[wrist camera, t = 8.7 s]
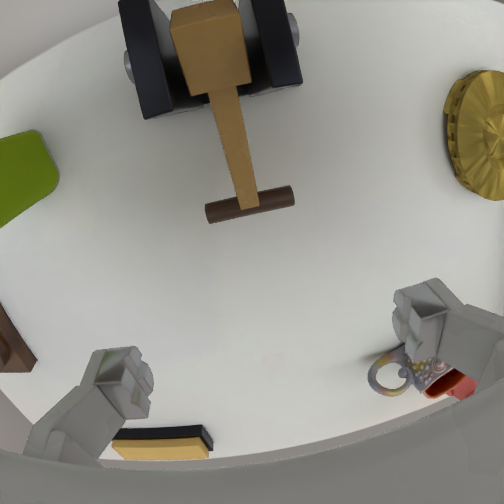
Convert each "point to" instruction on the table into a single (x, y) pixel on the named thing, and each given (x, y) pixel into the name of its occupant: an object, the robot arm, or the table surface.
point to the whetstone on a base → (163, 443)
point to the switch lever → (223, 98)
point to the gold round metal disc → (478, 132)
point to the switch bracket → (168, 67)
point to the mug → (417, 375)
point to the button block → (13, 348)
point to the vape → (24, 173)
